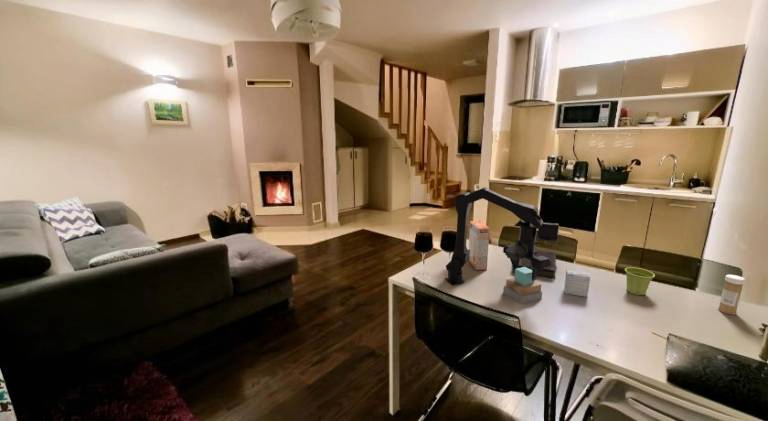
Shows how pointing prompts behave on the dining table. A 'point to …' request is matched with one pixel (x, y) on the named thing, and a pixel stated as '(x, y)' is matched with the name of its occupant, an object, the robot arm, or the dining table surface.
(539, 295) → the grey square slab
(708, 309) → the dining table surface
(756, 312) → the dining table surface
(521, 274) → the teal cube
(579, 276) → the medicine box
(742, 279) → the sprinkles bottle
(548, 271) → the diary
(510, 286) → the tan square block
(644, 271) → the plant pot
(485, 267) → the cracker box
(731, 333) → the dining table surface
